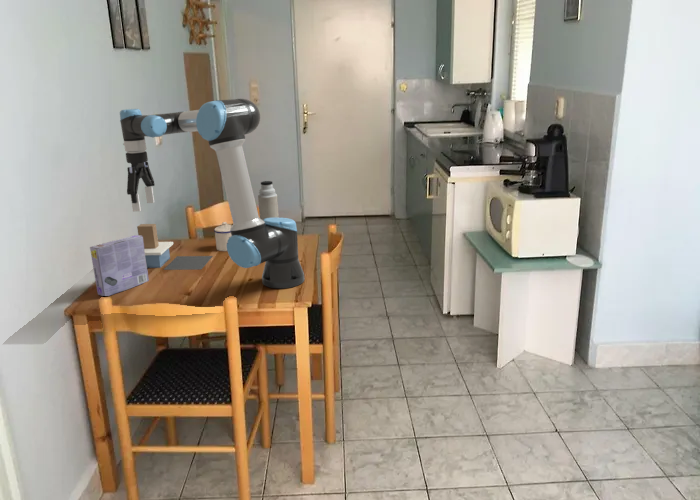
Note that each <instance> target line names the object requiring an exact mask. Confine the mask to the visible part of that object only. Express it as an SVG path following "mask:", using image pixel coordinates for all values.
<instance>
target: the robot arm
mask: <svg viewBox="0 0 700 500" xmlns="http://www.w3.org/2000/svg"><path fill="white" fill-rule="evenodd" d="M119 118H120V120H119V122H120V126H121V132H122V133H121V134H122V139H123V143H122V145H123V146H124V151H125V159H126V162H127V163H128V164H131V165H130V166H128V167H127V169H126V170H127V183H126V184H127V186H126V187H127V189H126V194H127V195H130V199H131V200H130V201H131V205H132V206H131V207H132V212H141V211H142V210H141V209H142V208H141V203H140V195H139V193H138V190H139V184H140V180H142V182H143V184H144V185H145V186H144V190H145V198H146V199H145V200H146V203H147V204H154V203H155V196H154V188H153V187H155V180H154V177H153V175H152V171H151V170H150V167H149V162H148V161H149V158H148V153H147V145H146V138H145V137H147V138H148V137H149V138H160V137H162V136H165V135H171V134H181V133H191V132H192V133H193V132H198V134H199V136H201V138H202V139H203V140H205V141H207V142H208V146H209V147H210V149H212V150H214V151H215V154H216V156H217V157H216V158H217V162H218V166H219V170H220V174H221V178H222V182H223V186H224V191H225V194H226V198H227V199H226V200H227V203H228V207H229V211H230V217H231V220H232V225H231V226H232V227H231V229H230V231H231V237H230V238H229V239H228V241H227V242H228V243H227V251H226V252H227V253H228V256H229V258H230V260H232V262H233V263H235V264H236V265H237V266H239V267H240V268H245V269H249V268H252V267H257V266H259V265H261V264H263V263H264V267H263V271H262V276H261V281H262V283H261V284H262V285H263V286H265V287H266V288H267V287H268V288H272V289H290V288H294V287H297V286H299V285H301V284H303V283H305V273H304V270H303V267H302V265H301V262H300V259H299V247H298V246H299V245H298V243H299V242H298V228H297V223H296V221H295V220H294V219H292V218H288V217H279V218H266V219H264V220H261V219H260V215H259V210H258V208H257V203H256V199H255V194H254V191H253V186H252V183H251V182H252V181H251V178H250V173H249V168H248V165H247V161H246V157H245V152H244V147H243V145H244V143H245V142H246V136H245V135H248V134H251V133H253V132H254V131H255V130H256V129H257V128H258V126H259V124H260V121H261V114H260V110H259V108H258V106H257V105H256V104H255V103H254V102H253V101H251V100H248V99H246V98H234V99H219V100H218V99H216V100H213V101H211V100H210V101H207V102H205V103H203V104H202V105H201V106H200V108H199V109H195V110H186V111H178V112H169V113H159V114H148V115H146V114H142V111H141V109H139V108H128V109H127V108H126V109H121V110H120V111H119Z"/></svg>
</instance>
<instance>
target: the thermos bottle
mask: <svg viewBox="0 0 700 500" xmlns="http://www.w3.org/2000/svg"><path fill="white" fill-rule="evenodd" d="M258 191H259V192H258V195H257V200H258V216H259V218H260V219H261V220H264V219H266V218H280V217H279V203H278V194H277V193H276V189H275V188H274V185H273V181H271V180H264V181H261V182H260V189H259V190H258Z"/></svg>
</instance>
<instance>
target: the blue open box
mask: <svg viewBox="0 0 700 500" xmlns="http://www.w3.org/2000/svg"><path fill="white" fill-rule="evenodd" d="M145 258H146V265H147V269H155V268H156V269H157V268H158V269H159V268H162V267H163V266H164V265H165V264H166V263H167V262H169V260H170V259H171V255H170V248H168V249H167V250H166V251H165V252H164V253H163V254H162V255H145Z"/></svg>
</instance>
